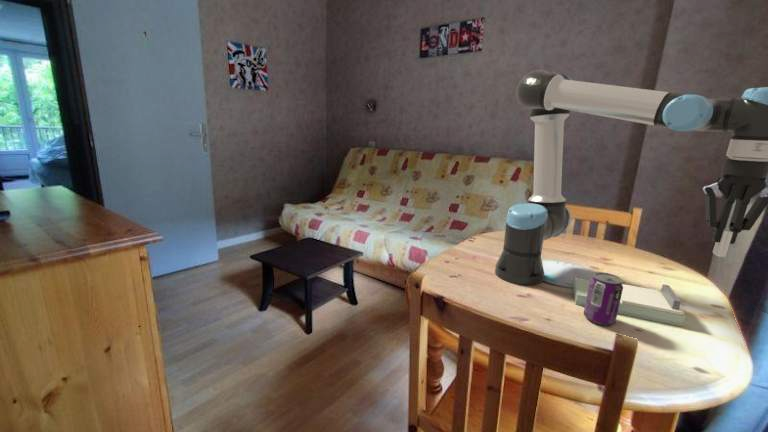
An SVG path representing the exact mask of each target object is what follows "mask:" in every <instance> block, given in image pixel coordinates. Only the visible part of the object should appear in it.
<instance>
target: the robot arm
mask: <svg viewBox="0 0 768 432" xmlns="http://www.w3.org/2000/svg"><path fill="white" fill-rule="evenodd" d="M516 98H517V100H518V102H519V104H520V105H521V106H522V107H524V108H525V109H527V110H529V111H530V116H529V117H530V120H531V121H532V122H534V150H533V151H534V153H533V158H534V159H533V191H532V195H531V196H530V197H529V198H528V200H527V202H525V203H518V204H513V205H512V206H510V207H509V209H508V211H507V215H506V219H505V221H506V222H505V231H504V238H503V239H504V240H503V248H502V252H501V253H500V255H499V257H498V259H497V261H496V264H495V268H494V273H495V274H496V276H498V277H499V278H500V279H502V280H505V281H506V282H509V283H512V284H517V285H521V286H522V285H524V286H528V285H529V286H534V285H539V284H541V283H543V281H544V278H545V270H544V266H543V265H544V264H543V260H542V253H543V251H542V250H543V245H544V241H546V240H549V239H552V238H556V237H558V236H560V235H562V234H563V233H565V231H566V230H567V229H568V228H569V226H570V223H571V219H572V218H571V212H570V210H569V209H568V208H567V205H566V203H567V199H566V198H565V197H564V196H563V195H562V182H563V181H562V177H563V176H562V175H563V174H562V173H563V153H564V132H565V131H564V128H565V127H564V126H565V121H566V119H567V118H568V117H570V113H571V112H578V113H582V114H589V115H592V116H593V115H595V116H600V117H606V118H611V119H617V120H622V121H623V120H624V121H628V122H633V123H638V124H645V125H650V126H656V127H660V128H666V129H670V130H673V131H676V132H683V133H685V132H686V133H687V132H727V133H728V132H729V133H730V132H732V134H731V137H730V140H729V144H728V148H727V151H726V154H725V156H726V157H728V158H726V159H725V160H724V161H723V165H722V168H721V171H720V176H719V178H717V179H716V180H715V182H714V183H712V184H710V185H704V186H702V187H701V189H702V192H703V193H704V197H705V199H704V200H705V223H706V224H707V225H709V227H712V228H714V230H713V234H712V236H711V240H712V242H714V246H713V249H712V254H714V256H716V257H719V258H720V257H721V258H726V256H727V253H728V250H729V246H730V245H734V244H735V243H736V240H737V237H738V234H739V233H741V232H742V231H750V230H751V229H752V228H753V227H754V225H755V224H756V222H757V221H758V219H759V218H760V217H761V215H762V213H763V211H764V210H765V208H766V207H767V206H768V187H767V183H766V179H767V177H768V86H767V87H766V86H765V87H751V88H747V89H746V90H745V91H744V92H743V94H742V95H741V97H735V98H734V97H732V98H708V97H706V96H703V95H700V94H694V93H688V94H686V93H676V92H669V91H661V90H654V89H653V90H652V89H647V88H637V87H630V86H620V85H612V84H605V83H597V82H588V81H580V80H573V79H572V78H571V77H569V76H567V75H566V74H563V73H560V72H554V71H549V70H545V69H536V70H532V71H529V72H527V73H526V74H525V75H524V76H523V77H522V78H521V79H520V81H519V82H518V84H517V88H516ZM570 111H571V112H570ZM718 190H719V192H720V193H721V195H722V196H721V203H720V206H719V210H718V213H717V196H716V194H717V193H718ZM756 195H758V197H757V198H756V199H755V201H754V202H753V203H752V205H751V207H749V210H748V211H747V209H748V205H750V204H751V199H752V198H753V197H755V196H756ZM734 204H735V205H734ZM733 205H734V208H733ZM732 208H733V211H732ZM746 211H747V212H746ZM731 212H732V215H731V219H730V220H729V218H730V214H731ZM728 221H730V222H729V224H728ZM727 224H728V228H726V227H727Z"/></svg>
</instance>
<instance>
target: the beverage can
mask: <svg viewBox="0 0 768 432" xmlns="http://www.w3.org/2000/svg"><path fill="white" fill-rule="evenodd" d="M589 281H590V284H589V289H588V294H587V298H586V303H585V306H584V309H583V315H584V316H585V318H587V319H588V320H589V321H591V322H593V323H594V324H598V325H601V326H610V325H615V323H616V321H617V317H618V314H619V313H618V308H619V304H620V300H621V295H622V291H623V286H622V284H623V279H622V278H621V277H619V276H618V275H616V274H612V273H609V272H602V271H598V272H595V273H593V276H592V277H591V278H590V280H589Z"/></svg>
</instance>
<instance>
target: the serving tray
mask: <svg viewBox="0 0 768 432" xmlns="http://www.w3.org/2000/svg"><path fill="white" fill-rule="evenodd" d="M589 284H590V280H588V279H583V278H577V277H574V279H573V284H572V289H573V290H572V291H573V297H574V298H573V299H574V304H575V305H577V306H580V307H581V306H582V307H585V303H586V298H587V294H588V289H589ZM617 314H619V315H625V316H630V317H635V318H639V319H643V320H644V319H646V320H648V321H649V320H650V321H653V322H659V323H662V324H667V325H668V324H669V325H672V326H677V327H682V328H683V327H684V323H685V320H686V314H685V312H684V313H683V315H679V314H674V313H669V312H664V311H659V310H654V309H649V308H644V307H639V306H634V305H629V304H624V303H622V302H621V300H620V304H619V308H618V313H617Z"/></svg>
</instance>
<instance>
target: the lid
mask: <svg viewBox="0 0 768 432" xmlns="http://www.w3.org/2000/svg"><path fill="white" fill-rule="evenodd" d="M622 286H623V291H622V295H621V302H622V303H624V304H629V305H634V306H639V307H644V308H649V309H654V310H659V311H664V312H669V313H674V314H679V315H683V313H684V314H685V312H684V311H683V309H682V307H681V303H682V300H681V299H680V298H679V297H678V295H677V294H676V293H675V291H674V290H673V289H672V287H671V286H670V285H669V284H664V283H663V284H662V286H661V289H660V290H657V289H651V288H648V287H647V288H645V287H641V286H636V285H629V284H626V283H625V284H623V283H622Z"/></svg>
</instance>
